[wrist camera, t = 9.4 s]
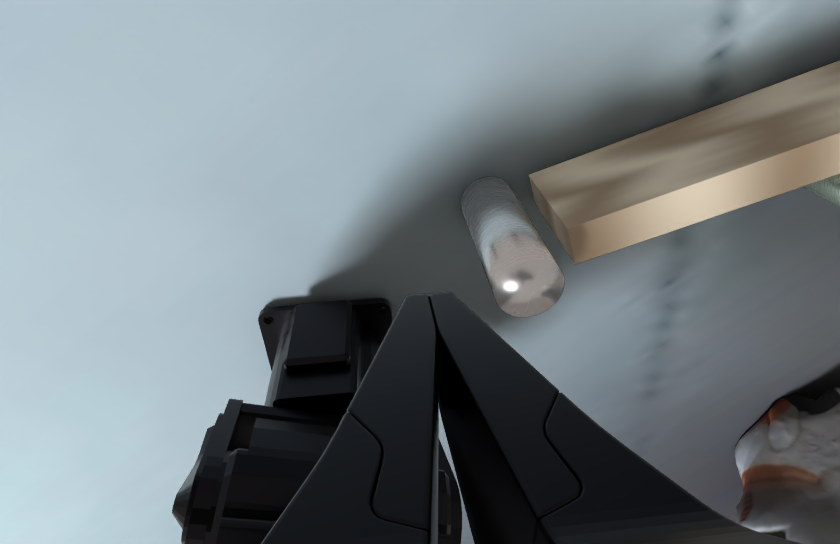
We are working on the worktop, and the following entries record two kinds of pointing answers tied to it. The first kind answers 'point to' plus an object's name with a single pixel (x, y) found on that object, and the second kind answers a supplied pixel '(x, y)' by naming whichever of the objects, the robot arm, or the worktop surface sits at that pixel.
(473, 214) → the gate posts
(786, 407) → the grey lumpy mass
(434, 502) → the robot arm
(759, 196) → the light brown wooden plank
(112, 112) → the worktop surface
